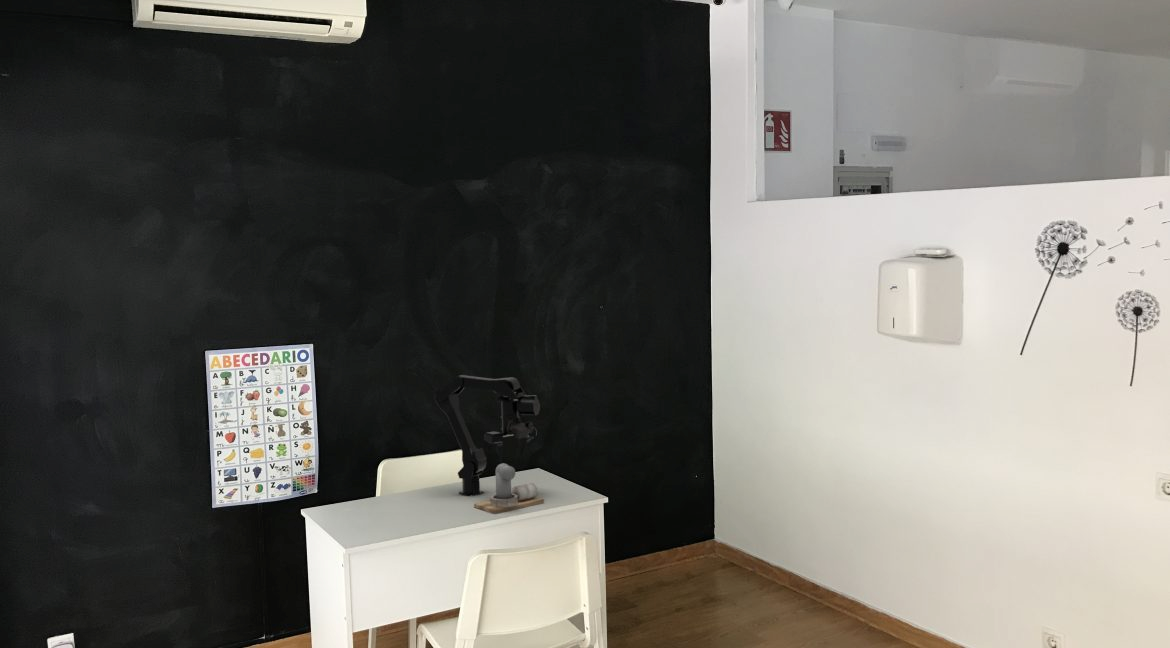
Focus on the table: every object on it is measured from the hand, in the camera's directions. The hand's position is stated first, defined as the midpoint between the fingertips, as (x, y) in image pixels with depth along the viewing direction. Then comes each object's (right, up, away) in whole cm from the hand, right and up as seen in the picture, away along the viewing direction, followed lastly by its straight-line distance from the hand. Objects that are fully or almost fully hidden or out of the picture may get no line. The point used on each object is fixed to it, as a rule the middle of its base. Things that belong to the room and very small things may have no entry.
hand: (511, 458), depth 314 cm
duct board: (0, -14, -12) cm, 18 cm away
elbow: (-1, -13, -15) cm, 19 cm away
